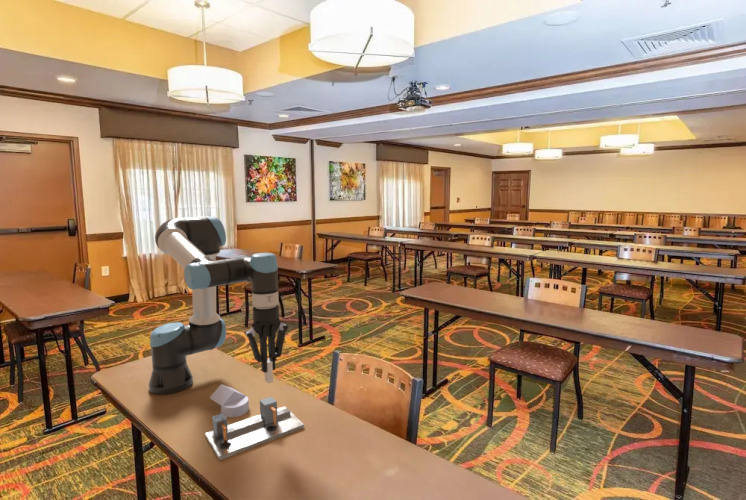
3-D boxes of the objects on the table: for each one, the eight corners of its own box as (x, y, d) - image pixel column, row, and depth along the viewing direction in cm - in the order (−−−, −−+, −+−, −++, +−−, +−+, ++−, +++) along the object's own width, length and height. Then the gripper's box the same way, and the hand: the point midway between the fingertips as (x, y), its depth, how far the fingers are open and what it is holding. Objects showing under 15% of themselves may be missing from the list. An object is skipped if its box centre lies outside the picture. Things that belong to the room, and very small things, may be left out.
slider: (260, 419, 132) (259, 400, 131) (272, 415, 134) (271, 396, 133) (269, 429, 126) (268, 409, 125) (281, 425, 128) (281, 405, 127)
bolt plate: (205, 436, 125) (203, 413, 124) (284, 409, 140) (284, 388, 139) (219, 460, 114) (217, 434, 113) (304, 427, 129) (303, 404, 128)
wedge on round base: (210, 407, 142) (230, 420, 134) (208, 388, 141) (228, 401, 133) (233, 397, 149) (254, 409, 141) (232, 379, 148) (253, 390, 140)
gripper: (248, 312, 115) (252, 391, 118) (291, 304, 123) (294, 379, 126) (239, 306, 121) (243, 382, 124) (281, 299, 129) (283, 370, 132)
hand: (269, 380), depth 125 cm, fingers closed
